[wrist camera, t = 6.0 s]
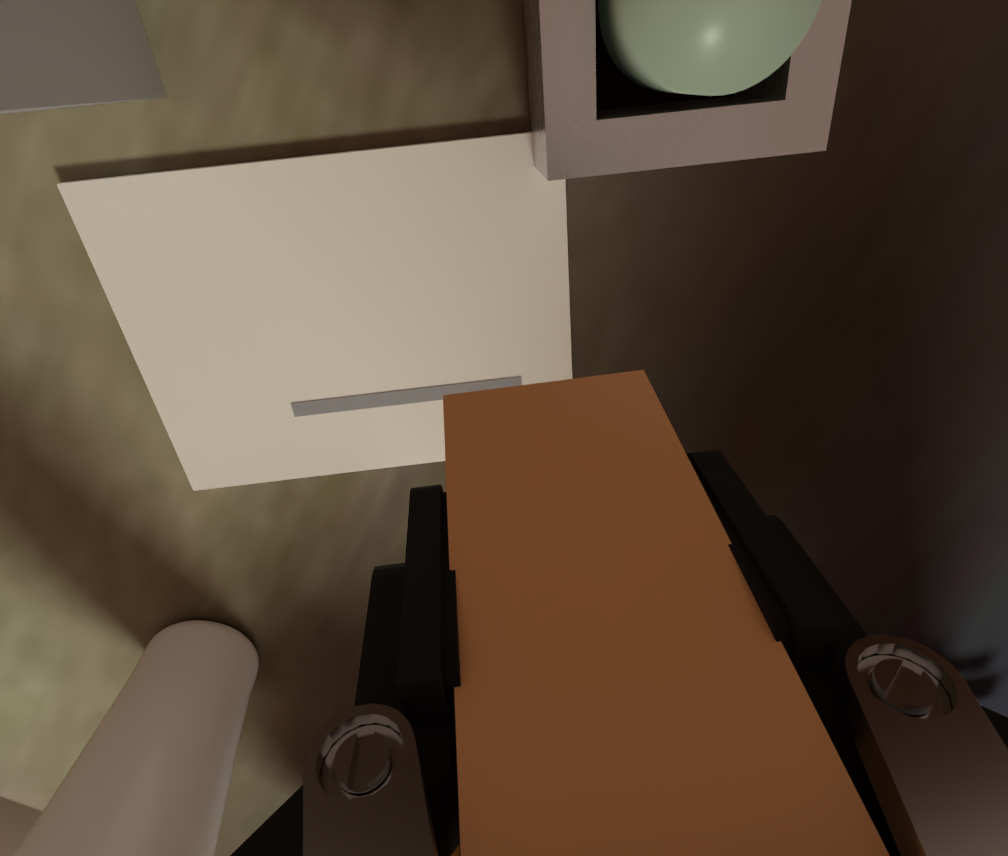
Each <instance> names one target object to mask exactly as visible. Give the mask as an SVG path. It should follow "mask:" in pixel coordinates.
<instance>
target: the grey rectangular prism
mask: <svg viewBox="0 0 1008 856" xmlns="http://www.w3.org/2000/svg"><path fill="white" fill-rule="evenodd" d="M163 97H166V94H165V91H164V88H163V85H162V82H161V79H160V76H159V73H158V70H157V67H156V64H155V61H154V58H153V55H152V52H151V49H150V46H149V43H148V40H147V37H146V34H145V31H144V28H143V25H142V22H141V19H140V16H139V13H138V10H137V7H136V4H135V1H134V0H0V114H6V113H18V112H29V111H39V110H49V109H58V108H68V107H77V106H87V105H96V104H106V103H116V102H125V101H135V100H144V99H154V98H163Z"/></svg>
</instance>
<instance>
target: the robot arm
mask: <svg viewBox="0 0 1008 856" xmlns="http://www.w3.org/2000/svg"><path fill="white" fill-rule="evenodd" d="M686 455H687V457H688V458H689V460H690V462H691V464H692V466H693V468H694V470H695V472H696V474H697V476H698V478H699V480H700V482H701V484H702V486H703V488H704V490H705V492H706V494H707V496H708V498H709V500H710V502H711V504H712V506H713V508H714V510H715V512H716V514H717V516H718V518H719V520H720V522H721V524H722V526H723V528H724V530H725V532H726V533H727V535H728V537H729V539H730V541H731V543H732V544H728V546H729V548H730V550H731V552H732V554H733V556H734V558H735V560H736V562H737V564H738V566H739V568H740V570H741V572H742V574H743V576H744V578H745V580H746V582H747V584H748V586H749V588H750V590H751V592H752V594H753V596H754V598H755V600H756V602H757V604H758V606H759V608H760V610H761V612H762V614H763V616H764V618H765V620H766V622H767V624H768V626H769V628H770V630H771V632H772V634H773V636H774V638H775V640H776V642H779V641H781V642H782V644H783V646H784V648H785V650H786V652H787V654H788V656H789V658H790V660H791V662H792V664H793V666H794V668H795V670H796V672H797V674H798V676H799V678H800V680H801V682H802V684H803V686H804V687H805V689H806V691H807V693H808V695H809V697H810V699H811V701H812V703H813V705H814V707H815V709H816V711H817V713H818V715H819V717H820V719H821V721H822V723H823V725H824V727H825V729H826V731H827V733H828V735H829V737H830V739H831V741H832V743H833V745H834V747H835V749H836V751H837V753H838V755H839V757H840V759H841V761H842V763H843V764H844V766H845V768H846V770H847V772H848V774H849V776H850V778H851V780H852V782H853V784H854V786H855V788H856V790H857V792H858V794H859V796H860V798H861V800H862V802H863V804H864V806H865V808H866V810H867V812H868V814H869V816H870V818H871V820H872V822H873V824H874V826H875V828H876V830H877V832H878V834H879V836H880V838H881V839H882V841H883V843H884V845H885V847H886V849H887V851H888V853H889V855H890V856H1008V718H1007V717H1005V716H1003V715H1000V714H998V713H996V712H994V711H992V710H989V709H987V708H985V707H983V706H981V705H980V704H979V702H978V700H977V699H976V697H975V696H974V694H973V692H972V691H971V689H970V688H969V686H968V684H967V683H966V681H965V680H964V679H963V677H962V676H961V675H960V674H959V672H958V671H957V670H956V669H955V667H954V666H953V665H952V664H950V663H949V662H948V661H947V660H945V659H944V658H943V657H942V656H940V655H939V654H938V653H937V652H935V651H933V650H931V649H929V648H927V647H926V646H924V645H922V644H920V643H918V642H915V641H912V640H909V639H906V638H903V637H899V636H892V635H884V634H880V635H871V636H867V634H866V633H865V632H864V630H863V629H862V628H861V626H860V625H859V624H858V622H857V621H856V620H855V618H854V617H853V616H852V614H851V613H850V612H849V610H848V609H847V608H846V606H845V605H844V604H843V602H842V601H841V600H840V598H839V597H838V595H837V594H836V593H835V591H834V590H833V589H832V587H831V586H830V585H829V583H828V582H827V581H826V579H825V578H824V577H823V575H822V574H821V573H820V571H819V570H818V569H817V567H816V566H815V565H814V563H813V562H812V561H811V559H810V558H809V556H808V555H807V554H806V552H805V551H804V550H803V548H802V547H801V546H800V544H799V543H798V542H797V540H796V539H795V538H794V536H793V535H792V534H791V532H790V531H789V530H788V528H787V527H786V526H785V524H784V523H783V522H782V521H781V520H780V519H779V518H778V517H776V516H774V515H770V516H766V514H765V513H764V512H763V510H762V509H761V508H760V506H759V505H758V503H757V502H756V501H755V499H754V498H753V496H752V495H751V494H750V492H749V491H748V489H747V488H746V487H745V485H744V484H743V482H742V481H741V480H740V478H739V477H738V475H737V474H736V473H735V471H734V470H733V468H732V467H731V466H730V464H729V463H728V462H727V460H726V459H725V457H724V456H723V455H722V453H721V452H720V451H718V450H711V451H703V452H695V453H687V454H686ZM455 687H461V677H460V657H459V636H458V615H457V594H456V573H455V570H450V567H449V541H448V515H447V492H443V489H442V485H433V486H425V487H417V488H411V490H410V502H409V516H408V530H407V544H406V558H405V563H400V564H392V565H384V566H377V567H375V568H374V570H373V574H372V580H371V588H370V595H369V603H368V610H367V618H366V625H365V633H364V640H363V647H362V655H361V662H360V670H359V677H358V685H357V692H356V700H355V707H353V708H351V709H349V710H346V711H344V712H342V713H340V714H339V715H337V716H336V717H335V718H333V719H332V720H331V721H330V722H328V723H327V724H326V725H325V726H324V727H323V728H322V730H321V731H320V732H319V733H318V735H317V736H316V737H315V738H314V740H313V742H312V744H311V746H310V748H309V751H308V753H307V755H306V760H305V766H304V772H303V785H302V786H301V787H300V788H299V789H298V790H297V791H296V792H295V793H294V794H293V795H292V796H291V797H290V798H289V799H288V800H287V801H286V802H285V803H284V804H283V805H282V806H281V807H280V808H279V809H278V810H277V811H276V812H275V813H274V814H273V815H272V816H270V817H269V818H268V819H267V820H266V821H265V822H264V823H263V824H262V825H261V826H260V827H259V828H258V829H257V830H256V831H255V832H254V833H253V834H252V835H251V836H250V837H249V838H248V839H247V840H246V841H245V842H244V843H243V844H242V845H241V846H240V847H239V848H238V849H237V850H236V851H235V852H234V853H233V854H232V855H230V856H451V855H452V854H453V852H454V851H455V850H456V848H457V847H458V846H459V844H460V825H459V799H458V773H457V747H456V722H455V696H454V688H455Z"/></svg>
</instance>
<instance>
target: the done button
mask: <svg viewBox="0 0 1008 856" xmlns="http://www.w3.org/2000/svg"><path fill="white" fill-rule="evenodd" d="M821 2H822V0H599V4H598V10H599V22H600V28H601V33H602V37H603V40H604V43H605V46H606V48H607V50H608V53H609V55H610V56H611V58H612V60H613V61H614V63H615V64H616V66H617V67H618V68H619V69H620V71H621V72H622V73H623V74H624V75H625V76H626V77H627V78H629V79H630V80H631V81H633V82H634V83H636V84H637V85H640V86H642V87H644V88H646V89H650V90H653V91H659V92H668V93H680V94H692V95H704V96H722V95H727V94H733V93H736V92H739V91H742V90H745V89H747V88H749V87H751V86H753V85H755V84H757V83H759V82H761V81H762V80H764V79H765V78H767V77H768V76H770V75H771V74H772V73H773V72H774V71H776V70H777V69H778V68H779V67H780V66H781V65H782V64H783V63H784V62H785V61H786V60H787V59H788V58H789V57H790V56H791V55H792V53H793V52H794V51H795V50H796V48H797V47H798V46H799V45H800V43H801V41H802V40H803V38H804V37H805V35H806V34H807V32H808V30H809V28H810V27H811V25H812V23H813V21H814V19H815V17H816V14H817V12H818V9H819V7H820V5H821Z"/></svg>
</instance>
